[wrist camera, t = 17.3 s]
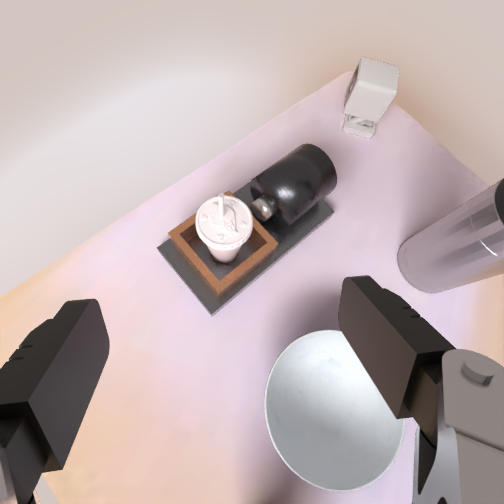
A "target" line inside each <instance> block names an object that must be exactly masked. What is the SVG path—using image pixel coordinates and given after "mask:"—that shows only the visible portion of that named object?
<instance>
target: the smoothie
mask: <svg viewBox="0 0 504 504" xmlns="http://www.w3.org/2000/svg"><path fill="white" fill-rule="evenodd" d="M252 229H253V217H252V213H251V211H250V209H249V208H248V206H247V205H246V204H245V203H244V202H243V201H241V200H240V199H238V198H236V197H233V196H227V195H224V194H223V193H219V196H215V197H212V198H210V199H208V200H207V201H205V202H204V203H203V204H202V205H201V206H200V208H199V209H198V211H197V214H196V230H197V233H198V235H199V237H200V238H201V240H202V241H203V242H204V243H205V244H207V246H208V248H209V250H210V252H211V254H212V256H213V257H214V259H215V260H217V261H218V262H221V263H227V262H230V261H232V260H233V259H234V258H235V257H236V255H237V254H238V252H239V250H240V248H241V246H242V244H243V243H245V242H246V241H247V239H248V238H249V237H250V235H251V232H252Z"/></svg>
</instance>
